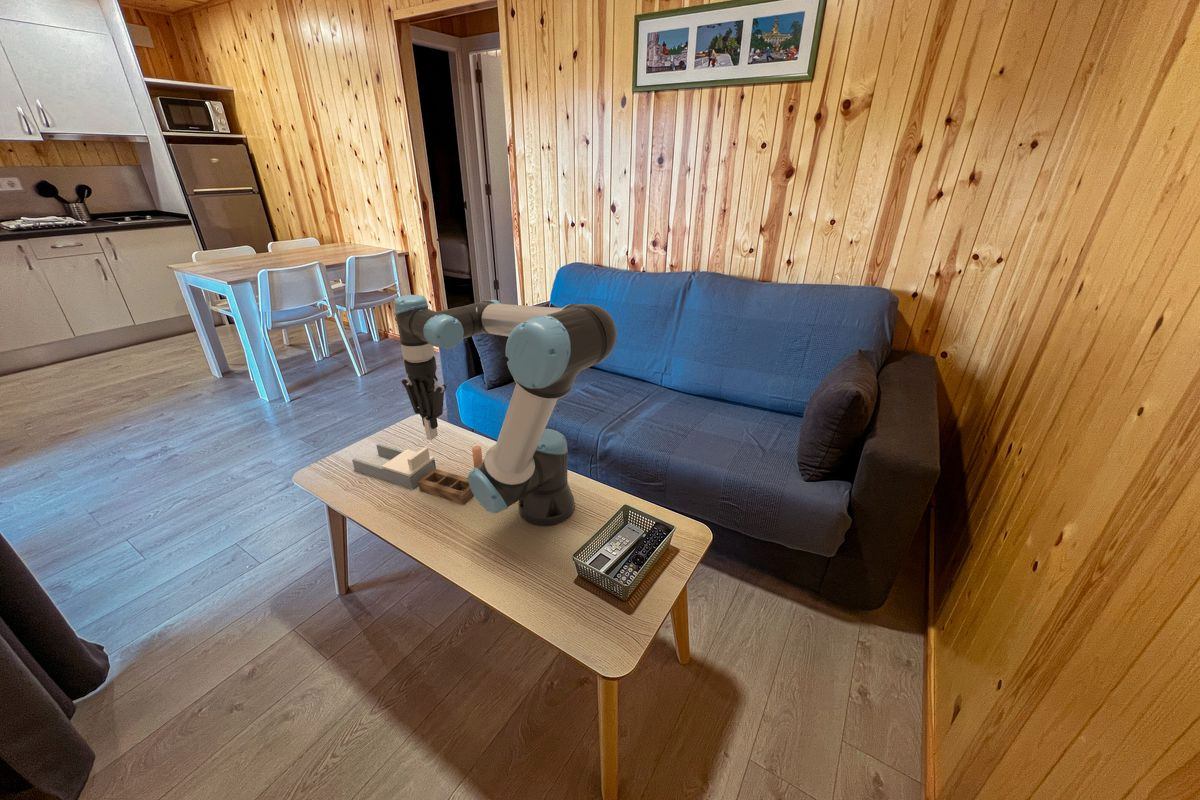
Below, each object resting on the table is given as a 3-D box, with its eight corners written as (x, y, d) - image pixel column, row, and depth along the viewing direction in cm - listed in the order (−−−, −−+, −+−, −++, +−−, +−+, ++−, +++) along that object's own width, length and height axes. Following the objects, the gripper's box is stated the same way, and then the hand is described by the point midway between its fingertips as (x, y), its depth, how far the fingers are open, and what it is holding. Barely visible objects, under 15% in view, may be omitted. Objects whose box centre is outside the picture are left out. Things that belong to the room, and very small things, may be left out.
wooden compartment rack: (479, 490, 133) (478, 481, 132) (463, 504, 127) (462, 495, 126) (436, 476, 138) (435, 468, 137) (419, 490, 132) (417, 481, 131)
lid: (434, 459, 139) (432, 445, 137) (410, 477, 131) (407, 462, 128) (407, 451, 142) (404, 437, 140) (382, 468, 134) (378, 454, 132)
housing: (436, 471, 141) (434, 460, 139) (412, 489, 132) (410, 478, 131) (380, 454, 148) (378, 443, 147) (354, 470, 140) (351, 459, 138)
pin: (486, 475, 139) (483, 447, 135) (480, 480, 137) (477, 451, 133) (478, 473, 140) (475, 445, 136) (473, 478, 138) (470, 449, 134)
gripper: (449, 356, 118) (460, 436, 129) (410, 348, 122) (423, 426, 133) (429, 366, 112) (442, 449, 122) (388, 358, 116) (404, 438, 127)
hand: (432, 437), depth 128 cm, fingers closed
